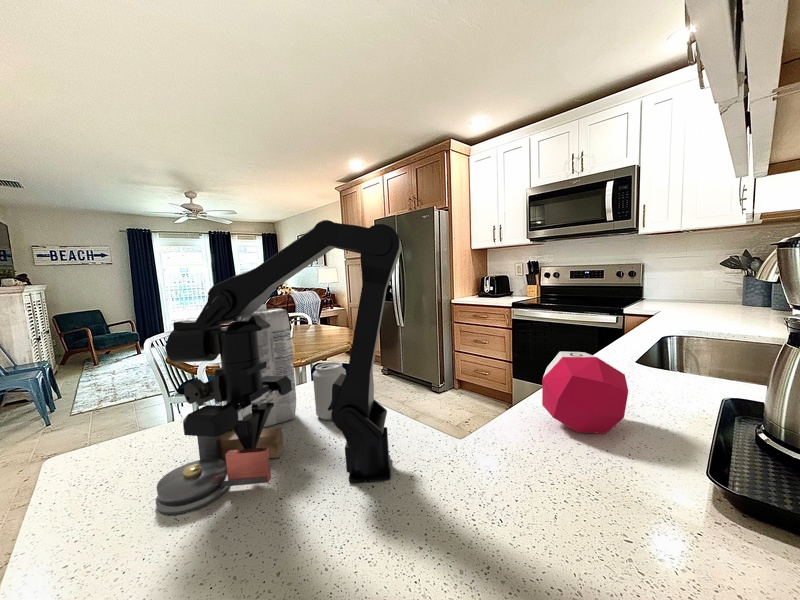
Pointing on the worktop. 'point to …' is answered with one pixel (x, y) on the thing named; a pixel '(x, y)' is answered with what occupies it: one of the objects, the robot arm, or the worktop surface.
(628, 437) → the worktop surface
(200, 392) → the robot arm
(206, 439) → the iron eye
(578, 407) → the decorative object
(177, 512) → the disc
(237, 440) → the brown rectangular bar
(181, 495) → the handwheel
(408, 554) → the worktop surface
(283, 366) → the juice carton
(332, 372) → the can
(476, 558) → the worktop surface
